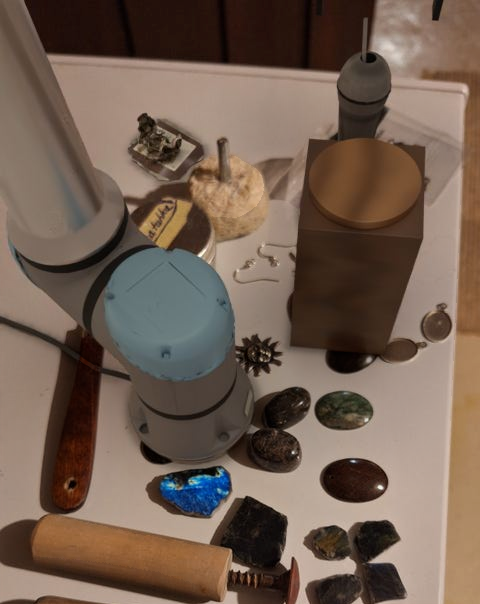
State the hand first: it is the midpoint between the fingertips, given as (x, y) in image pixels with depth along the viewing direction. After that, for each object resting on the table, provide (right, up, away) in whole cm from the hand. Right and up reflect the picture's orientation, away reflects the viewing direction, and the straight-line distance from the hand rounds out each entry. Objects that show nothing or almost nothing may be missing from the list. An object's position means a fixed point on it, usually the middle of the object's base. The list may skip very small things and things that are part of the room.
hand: (376, 11), depth 75 cm
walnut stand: (-3, -34, +8) cm, 35 cm away
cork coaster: (-4, -25, -12) cm, 28 cm away
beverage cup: (+1, -9, +20) cm, 22 cm away
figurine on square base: (-27, -8, +21) cm, 35 cm away
